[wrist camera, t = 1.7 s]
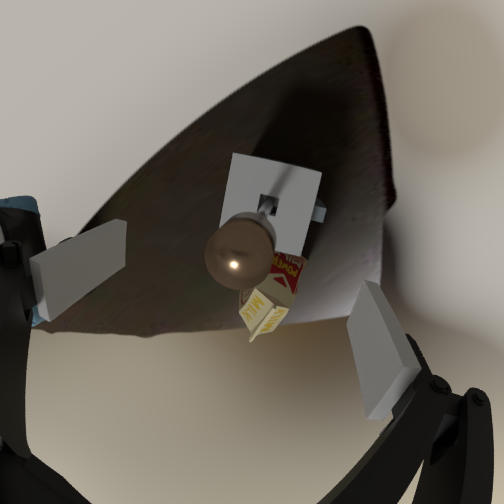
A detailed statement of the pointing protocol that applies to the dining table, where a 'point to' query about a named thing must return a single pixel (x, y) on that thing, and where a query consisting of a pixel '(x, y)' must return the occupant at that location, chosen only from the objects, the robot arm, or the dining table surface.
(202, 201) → the dining table surface
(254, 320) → the milk carton
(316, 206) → the grey box with hole
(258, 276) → the plunger
